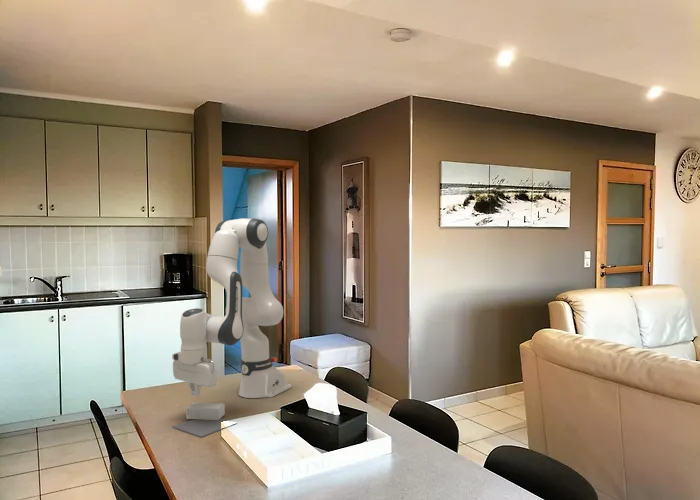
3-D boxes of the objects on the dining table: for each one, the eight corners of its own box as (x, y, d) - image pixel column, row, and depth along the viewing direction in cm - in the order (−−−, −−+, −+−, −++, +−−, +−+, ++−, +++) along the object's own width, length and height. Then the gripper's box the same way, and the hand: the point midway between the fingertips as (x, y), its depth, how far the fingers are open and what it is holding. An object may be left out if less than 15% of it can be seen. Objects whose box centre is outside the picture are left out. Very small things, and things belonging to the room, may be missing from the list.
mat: (208, 414, 192) (208, 413, 192) (237, 423, 183) (237, 422, 183) (172, 427, 180) (172, 426, 180) (201, 437, 171) (201, 436, 171)
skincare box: (186, 419, 187) (218, 420, 185) (185, 407, 187) (217, 408, 185) (193, 413, 193) (225, 414, 191) (193, 401, 193) (224, 403, 191)
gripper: (220, 357, 182) (222, 397, 182) (184, 350, 194) (185, 388, 195) (205, 361, 177) (207, 403, 177) (169, 354, 189) (170, 392, 190)
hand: (195, 395), depth 186 cm, fingers closed
